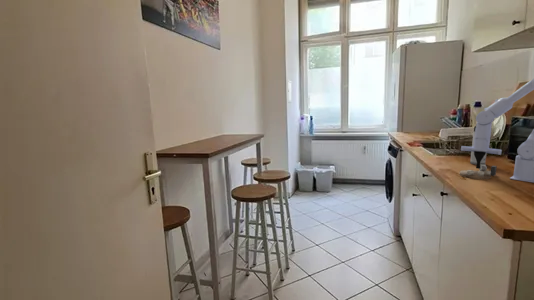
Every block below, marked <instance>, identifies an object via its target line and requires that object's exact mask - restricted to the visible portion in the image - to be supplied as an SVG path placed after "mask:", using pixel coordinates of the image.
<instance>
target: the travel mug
mask: <svg viewBox="0 0 534 300" xmlns="http://www.w3.org/2000/svg"><path fill="white" fill-rule="evenodd" d="M475 129H476V125H474V127H473V132H472V133H473V134H472V145H471V147H473V144H474V136H475ZM475 151H477V150H475ZM485 152H486V151H485ZM486 160H487V153H486V154H485V156H484V157H483V159H482V160H481V162H480V164H486ZM469 161H470V162H469V163H470V164H471V165H474V166H476V165H477V161H476V158H475V156H474V152H472V151H470V160H469Z"/></svg>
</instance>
